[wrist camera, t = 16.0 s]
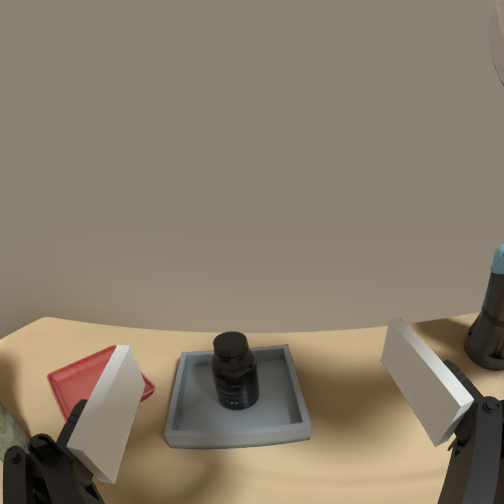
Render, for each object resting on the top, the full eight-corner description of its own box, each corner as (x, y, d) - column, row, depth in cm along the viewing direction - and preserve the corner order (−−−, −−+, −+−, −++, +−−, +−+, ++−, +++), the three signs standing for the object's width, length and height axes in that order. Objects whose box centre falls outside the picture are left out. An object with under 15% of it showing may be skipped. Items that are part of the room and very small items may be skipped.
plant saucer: (162, 399, 42) (157, 386, 41) (78, 443, 29) (69, 431, 28) (119, 355, 53) (115, 343, 52) (52, 386, 41) (45, 374, 40)
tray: (287, 358, 51) (287, 344, 50) (309, 439, 32) (311, 426, 31) (185, 365, 50) (181, 352, 49) (170, 447, 31) (163, 435, 30)
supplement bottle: (224, 381, 45) (214, 325, 41) (262, 385, 44) (259, 328, 40) (212, 409, 39) (199, 352, 35) (255, 414, 37) (249, 357, 34)
